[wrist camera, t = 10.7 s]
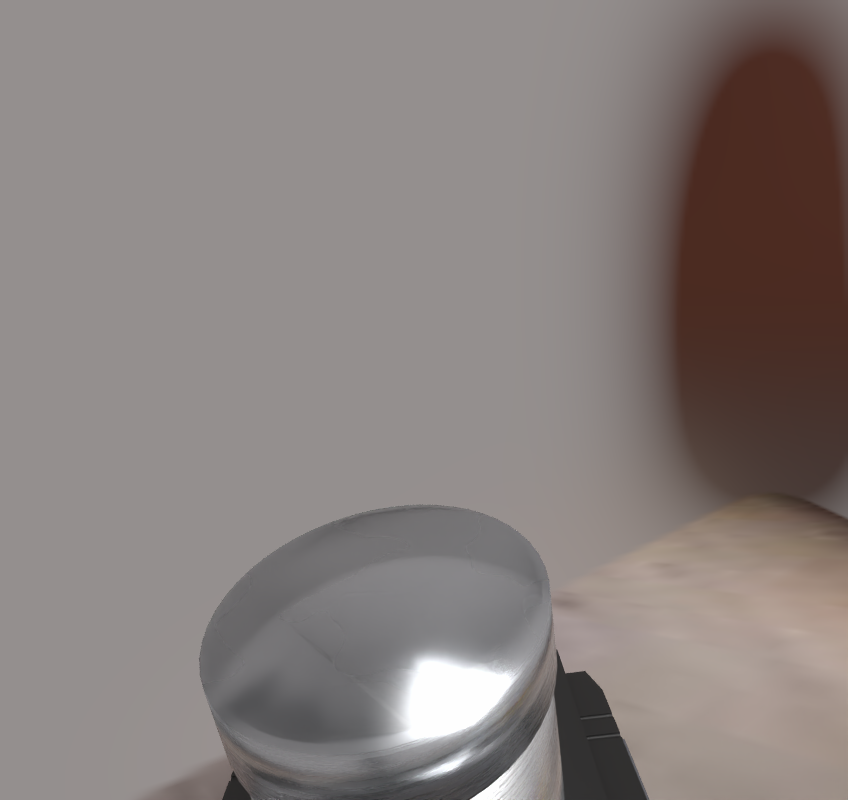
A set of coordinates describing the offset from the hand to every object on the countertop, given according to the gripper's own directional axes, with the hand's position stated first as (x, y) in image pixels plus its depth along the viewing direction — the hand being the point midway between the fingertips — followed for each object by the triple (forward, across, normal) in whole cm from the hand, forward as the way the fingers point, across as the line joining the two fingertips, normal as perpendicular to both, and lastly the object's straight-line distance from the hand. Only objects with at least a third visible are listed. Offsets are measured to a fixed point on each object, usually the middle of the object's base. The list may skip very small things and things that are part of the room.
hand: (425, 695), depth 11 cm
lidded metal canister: (-3, 0, +6) cm, 7 cm away
